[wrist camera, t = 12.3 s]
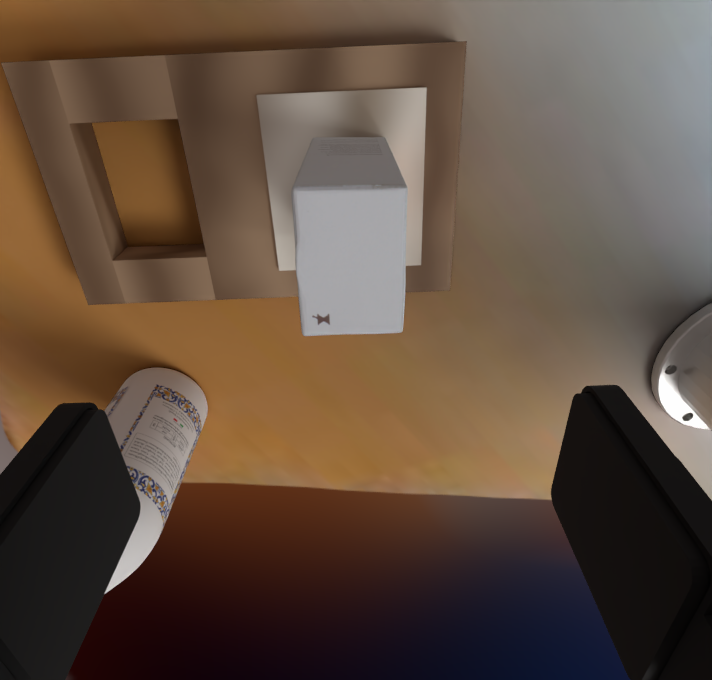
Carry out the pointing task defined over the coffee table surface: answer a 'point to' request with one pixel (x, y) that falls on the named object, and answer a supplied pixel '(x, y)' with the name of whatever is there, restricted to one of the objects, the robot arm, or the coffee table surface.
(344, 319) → the skincare box
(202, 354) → the coffee table surface
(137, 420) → the bath foam
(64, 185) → the walnut frame
